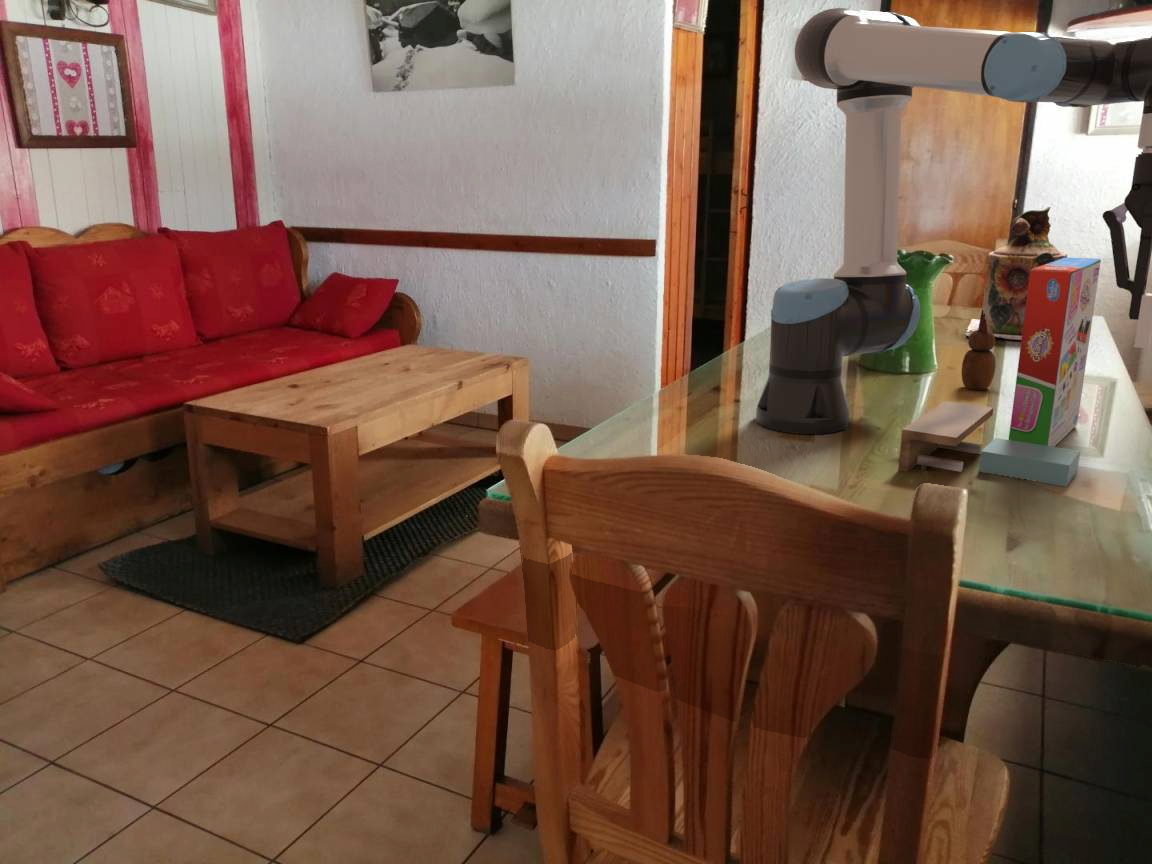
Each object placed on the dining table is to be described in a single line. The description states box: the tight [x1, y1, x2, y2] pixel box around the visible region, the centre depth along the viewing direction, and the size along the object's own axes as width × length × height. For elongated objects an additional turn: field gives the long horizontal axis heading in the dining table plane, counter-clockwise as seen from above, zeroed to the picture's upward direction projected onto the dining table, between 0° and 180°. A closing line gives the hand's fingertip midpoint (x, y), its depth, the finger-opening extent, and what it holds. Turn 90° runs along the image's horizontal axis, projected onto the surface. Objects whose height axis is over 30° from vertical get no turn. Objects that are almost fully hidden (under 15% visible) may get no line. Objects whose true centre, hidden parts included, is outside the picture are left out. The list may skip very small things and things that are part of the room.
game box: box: [1008, 257, 1102, 447], centre depth 138 cm, size 21×6×27 cm, turn 141°
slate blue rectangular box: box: [978, 437, 1081, 488], centre depth 126 cm, size 11×8×3 cm
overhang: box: [898, 400, 994, 473], centre depth 132 cm, size 7×20×6 cm, turn 143°
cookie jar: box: [965, 206, 1068, 341], centre depth 228 cm, size 25×25×32 cm
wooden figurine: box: [961, 309, 997, 391], centre depth 173 cm, size 7×6×15 cm
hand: (1142, 345), depth 114 cm, fingers closed
